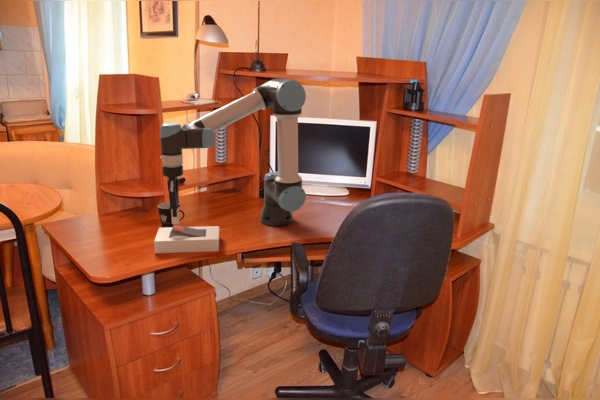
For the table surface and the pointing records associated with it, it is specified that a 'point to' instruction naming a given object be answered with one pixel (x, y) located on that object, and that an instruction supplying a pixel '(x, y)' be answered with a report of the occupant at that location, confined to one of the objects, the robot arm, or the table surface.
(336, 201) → the table surface
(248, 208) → the table surface
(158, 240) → the breaker panel
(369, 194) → the table surface
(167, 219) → the coffee mug
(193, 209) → the table surface
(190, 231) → the breaker rocker
